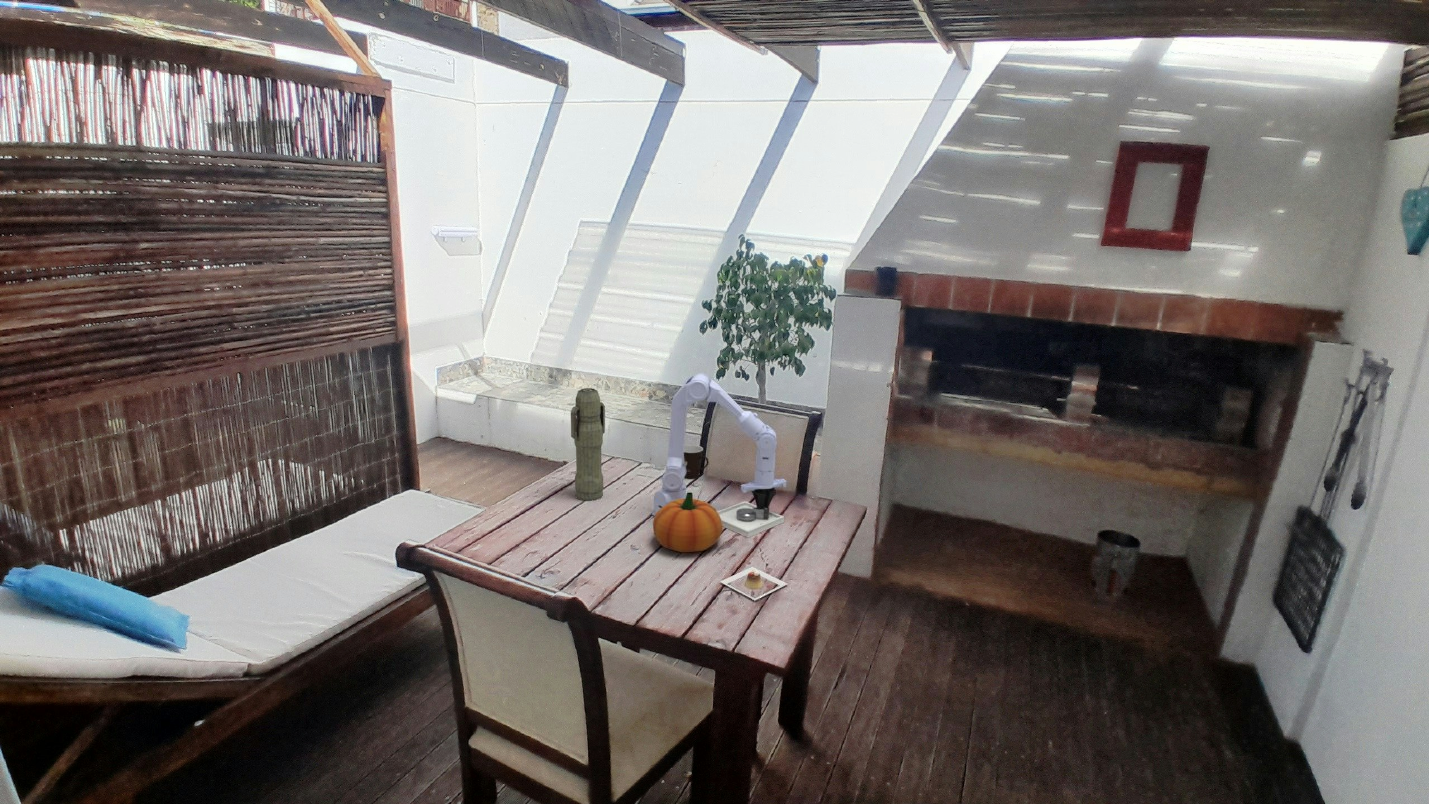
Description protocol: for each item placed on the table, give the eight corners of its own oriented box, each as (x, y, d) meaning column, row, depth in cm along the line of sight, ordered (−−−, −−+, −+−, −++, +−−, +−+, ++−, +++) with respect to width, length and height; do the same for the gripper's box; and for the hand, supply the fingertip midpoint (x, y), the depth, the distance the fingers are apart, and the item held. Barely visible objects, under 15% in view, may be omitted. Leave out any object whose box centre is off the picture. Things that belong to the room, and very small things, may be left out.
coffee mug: (674, 473, 253) (674, 446, 250) (696, 470, 257) (697, 443, 254) (686, 484, 243) (687, 456, 240) (709, 481, 246) (710, 453, 244)
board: (747, 537, 204) (747, 531, 203) (708, 520, 215) (708, 514, 214) (783, 522, 215) (784, 516, 214) (744, 506, 226) (745, 501, 225)
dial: (735, 519, 212) (736, 509, 211) (736, 512, 217) (737, 502, 217) (768, 521, 211) (769, 511, 210) (768, 513, 217) (769, 504, 216)
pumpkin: (677, 522, 212) (678, 475, 209) (734, 538, 203) (736, 489, 199) (638, 546, 196) (638, 495, 193) (697, 565, 187) (699, 511, 183)
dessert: (719, 585, 178) (719, 568, 177) (752, 570, 186) (752, 553, 185) (755, 604, 170) (755, 586, 168) (787, 587, 178) (788, 570, 177)
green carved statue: (565, 497, 229) (563, 390, 220) (593, 487, 238) (592, 384, 229) (584, 504, 223) (582, 395, 215) (612, 494, 232) (611, 389, 224)
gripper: (779, 461, 219) (776, 503, 223) (737, 467, 213) (734, 509, 216) (791, 469, 213) (788, 511, 216) (748, 475, 207) (745, 518, 210)
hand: (762, 511), depth 216 cm, fingers closed
